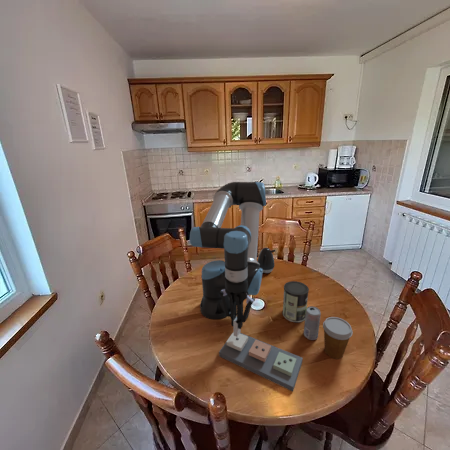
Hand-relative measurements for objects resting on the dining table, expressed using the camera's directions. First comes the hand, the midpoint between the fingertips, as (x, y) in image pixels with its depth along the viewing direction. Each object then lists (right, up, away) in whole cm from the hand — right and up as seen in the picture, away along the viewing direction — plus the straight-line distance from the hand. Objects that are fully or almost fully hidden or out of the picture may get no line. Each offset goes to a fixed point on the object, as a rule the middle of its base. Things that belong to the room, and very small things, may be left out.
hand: (237, 333), depth 87 cm
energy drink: (+30, -5, +8) cm, 31 cm away
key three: (+16, -9, -6) cm, 19 cm away
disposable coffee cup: (+36, -7, +1) cm, 36 cm away
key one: (0, -6, +2) cm, 6 cm away
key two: (+8, -7, -2) cm, 11 cm away
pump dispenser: (+20, +12, +56) cm, 61 cm away
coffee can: (+27, -1, +20) cm, 33 cm away
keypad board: (+8, -8, -2) cm, 12 cm away
